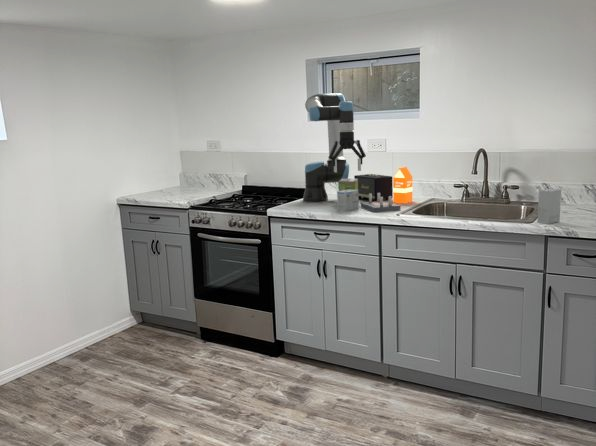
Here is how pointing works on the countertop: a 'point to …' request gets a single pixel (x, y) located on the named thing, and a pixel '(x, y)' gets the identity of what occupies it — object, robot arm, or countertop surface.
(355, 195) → the light bulb box
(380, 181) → the speaker
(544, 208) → the skincare box
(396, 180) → the orange juice
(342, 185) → the tea box
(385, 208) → the pin tray
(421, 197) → the countertop surface
